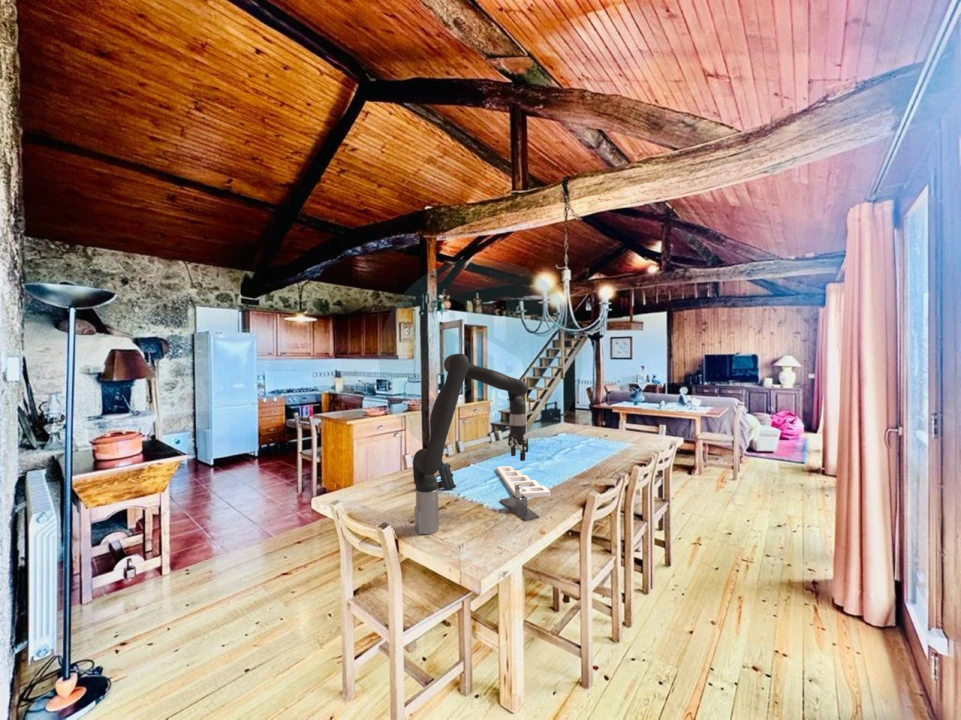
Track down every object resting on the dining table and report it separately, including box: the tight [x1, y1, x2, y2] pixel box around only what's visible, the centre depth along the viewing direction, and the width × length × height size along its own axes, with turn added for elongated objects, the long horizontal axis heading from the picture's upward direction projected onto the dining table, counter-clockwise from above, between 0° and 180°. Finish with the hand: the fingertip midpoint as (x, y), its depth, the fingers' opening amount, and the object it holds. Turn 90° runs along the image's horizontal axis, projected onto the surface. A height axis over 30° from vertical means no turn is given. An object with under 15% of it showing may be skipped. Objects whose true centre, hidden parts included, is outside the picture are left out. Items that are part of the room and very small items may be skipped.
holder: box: [496, 465, 551, 499], centre depth 225 cm, size 45×18×3 cm, turn 10°
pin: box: [515, 485, 523, 499], centre depth 188 cm, size 3×3×11 cm
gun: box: [435, 460, 457, 492], centre depth 213 cm, size 3×17×15 cm
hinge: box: [499, 494, 540, 522], centre depth 188 cm, size 7×24×6 cm, turn 25°
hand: (517, 458), depth 187 cm, fingers open, 8 cm apart
